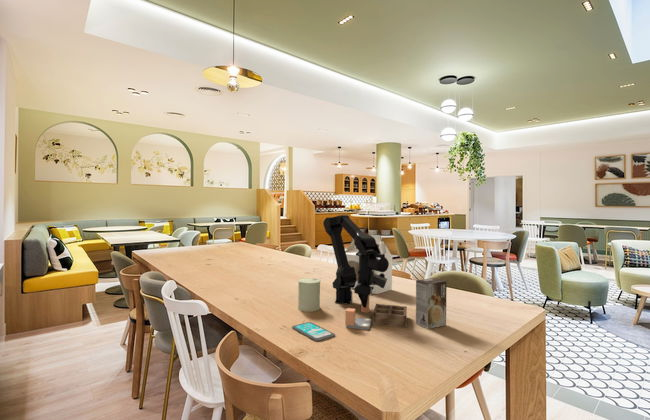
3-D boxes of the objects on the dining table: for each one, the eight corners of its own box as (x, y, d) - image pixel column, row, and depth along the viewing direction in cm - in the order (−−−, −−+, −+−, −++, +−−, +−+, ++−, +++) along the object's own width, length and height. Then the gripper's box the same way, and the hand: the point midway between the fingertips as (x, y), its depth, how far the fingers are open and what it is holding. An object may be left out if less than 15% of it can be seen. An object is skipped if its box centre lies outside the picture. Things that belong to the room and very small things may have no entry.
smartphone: (316, 340, 102) (290, 326, 114) (316, 343, 102) (290, 328, 114) (337, 334, 108) (310, 321, 119) (337, 337, 108) (310, 323, 119)
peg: (360, 311, 132) (361, 292, 132) (362, 309, 135) (362, 290, 135) (368, 312, 132) (368, 292, 131) (369, 310, 134) (369, 290, 134)
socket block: (372, 324, 119) (372, 313, 119) (375, 313, 130) (376, 303, 130) (406, 327, 116) (406, 316, 116) (406, 316, 127) (406, 306, 127)
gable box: (392, 290, 168) (393, 235, 167) (376, 294, 158) (377, 236, 158) (359, 282, 184) (360, 232, 183) (343, 285, 175) (343, 233, 174)
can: (324, 308, 136) (325, 279, 136) (308, 313, 130) (309, 283, 130) (309, 303, 143) (309, 275, 143) (293, 307, 136) (293, 279, 136)
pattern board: (345, 327, 115) (345, 310, 115) (349, 319, 123) (349, 303, 123) (368, 330, 113) (369, 313, 113) (371, 322, 121) (371, 305, 121)
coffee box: (433, 319, 124) (434, 277, 124) (446, 325, 119) (447, 281, 118) (414, 323, 120) (415, 279, 120) (427, 329, 114) (428, 283, 114)
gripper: (384, 273, 122) (383, 315, 122) (387, 265, 140) (386, 301, 140) (354, 271, 125) (353, 312, 125) (361, 263, 143) (361, 299, 143)
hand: (365, 306), depth 133 cm, fingers closed on peg, 3 cm apart
